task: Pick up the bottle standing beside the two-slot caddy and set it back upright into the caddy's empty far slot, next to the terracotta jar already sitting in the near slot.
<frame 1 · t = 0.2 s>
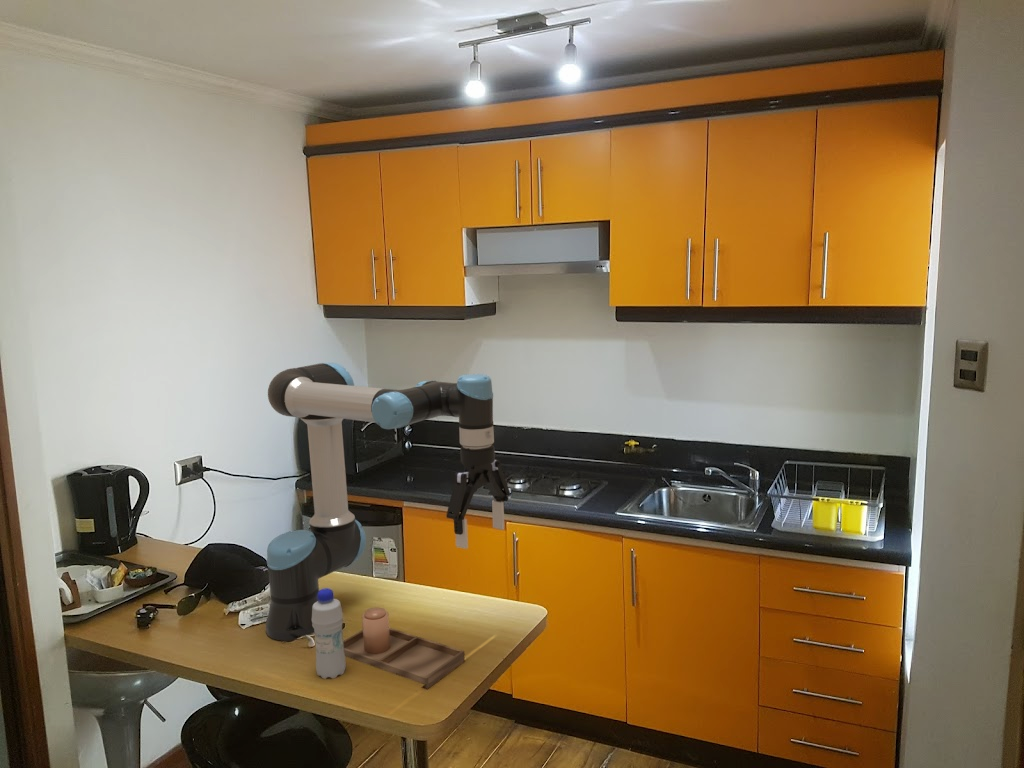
hand: (480, 537, 170), 28 cm above the counter, fingers open, 13 cm apart
bottle: (331, 676, 167), on the counter
caddy: (399, 658, 173), on the counter
jar: (377, 647, 177), point 1 cm above the counter, touching caddy
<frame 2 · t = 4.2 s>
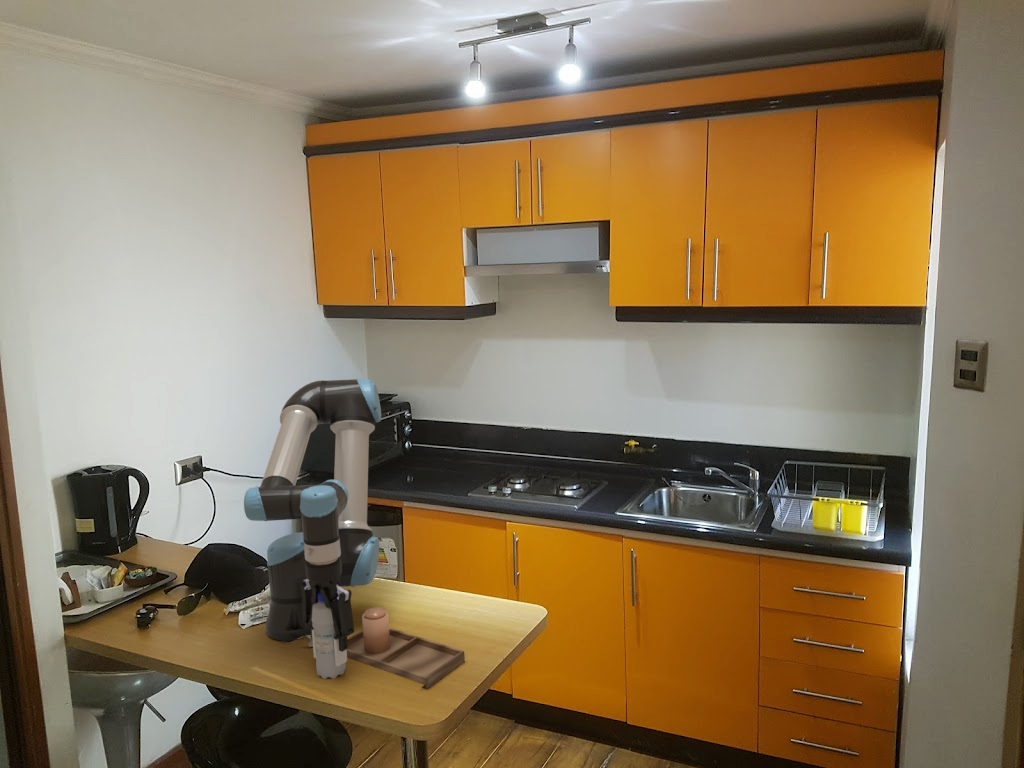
hand: (330, 659, 166), 4 cm above the counter, fingers closed on bottle, 6 cm apart
bottle: (331, 676, 167), on the counter, touching gripper
everything else where it was.
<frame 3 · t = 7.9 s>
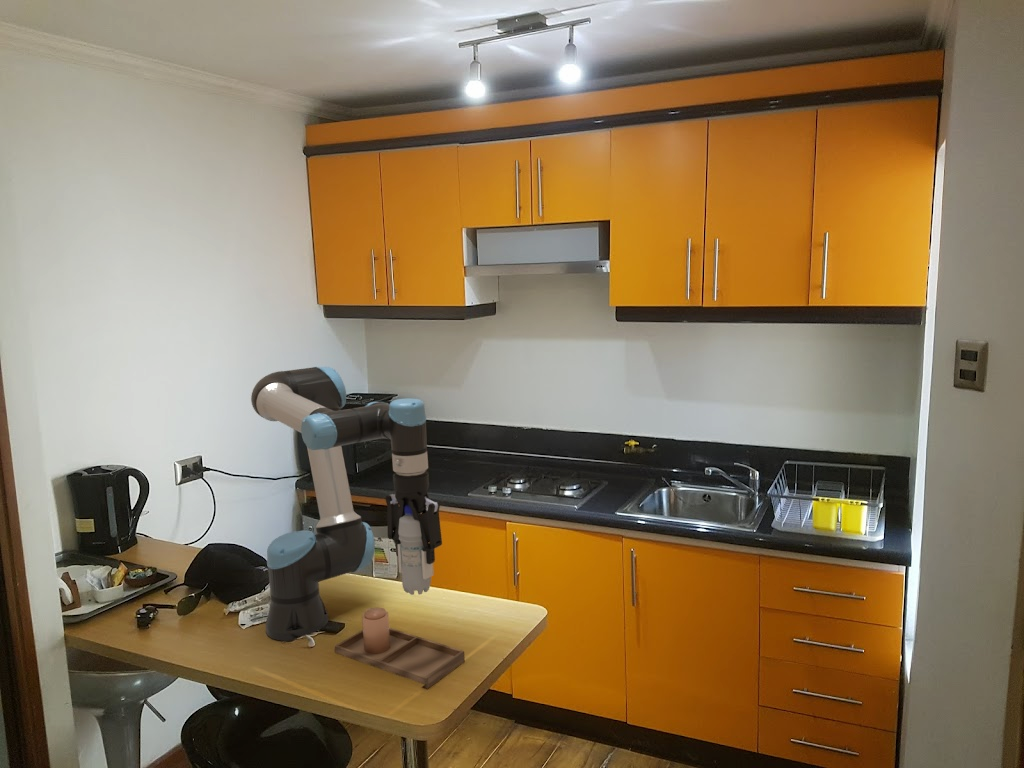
hand: (416, 573, 166), 22 cm above the counter, fingers closed on bottle, 6 cm apart
bottle: (417, 591, 167), point 18 cm above the counter, touching gripper
everything else where it was.
when the fingers open (6 cm above the counter, at t = 11.7 s): bottle stays where it is, resting on caddy.
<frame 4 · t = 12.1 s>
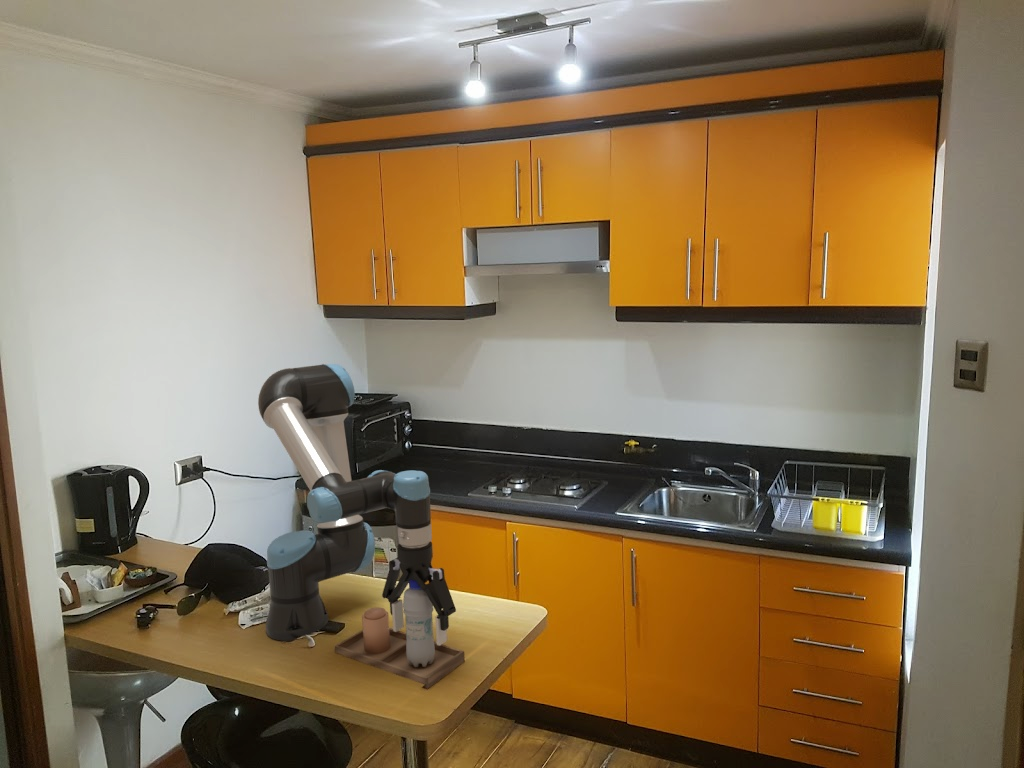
hand: (419, 635, 168), 7 cm above the counter, fingers open, 12 cm apart
bottle: (421, 663, 169), point 1 cm above the counter, touching caddy
everything else where it was.
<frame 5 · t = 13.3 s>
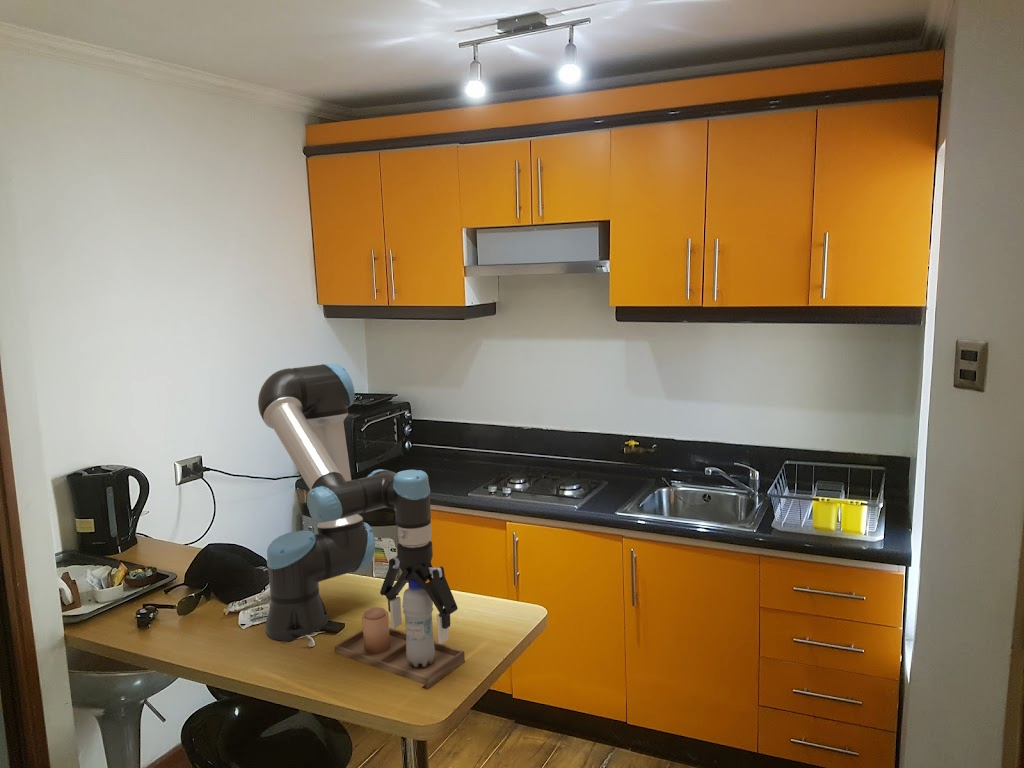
hand: (419, 633, 168), 8 cm above the counter, fingers open, 13 cm apart
nothing on the counter moved.
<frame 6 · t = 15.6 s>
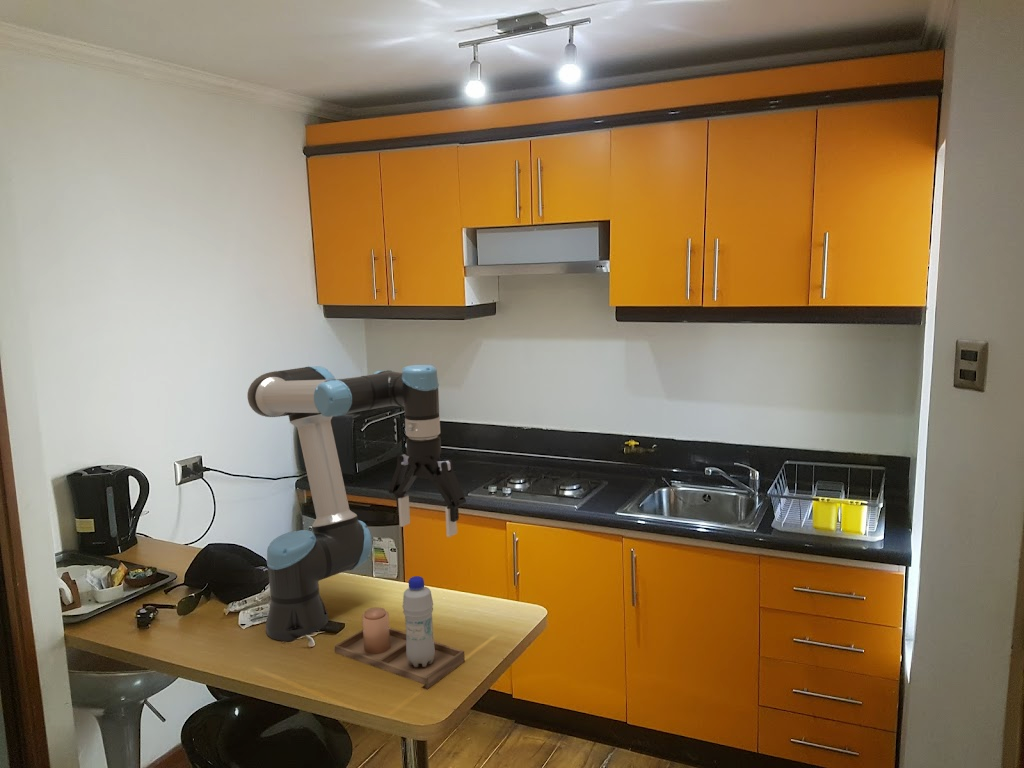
hand: (427, 529, 169), 30 cm above the counter, fingers open, 13 cm apart
nothing on the counter moved.
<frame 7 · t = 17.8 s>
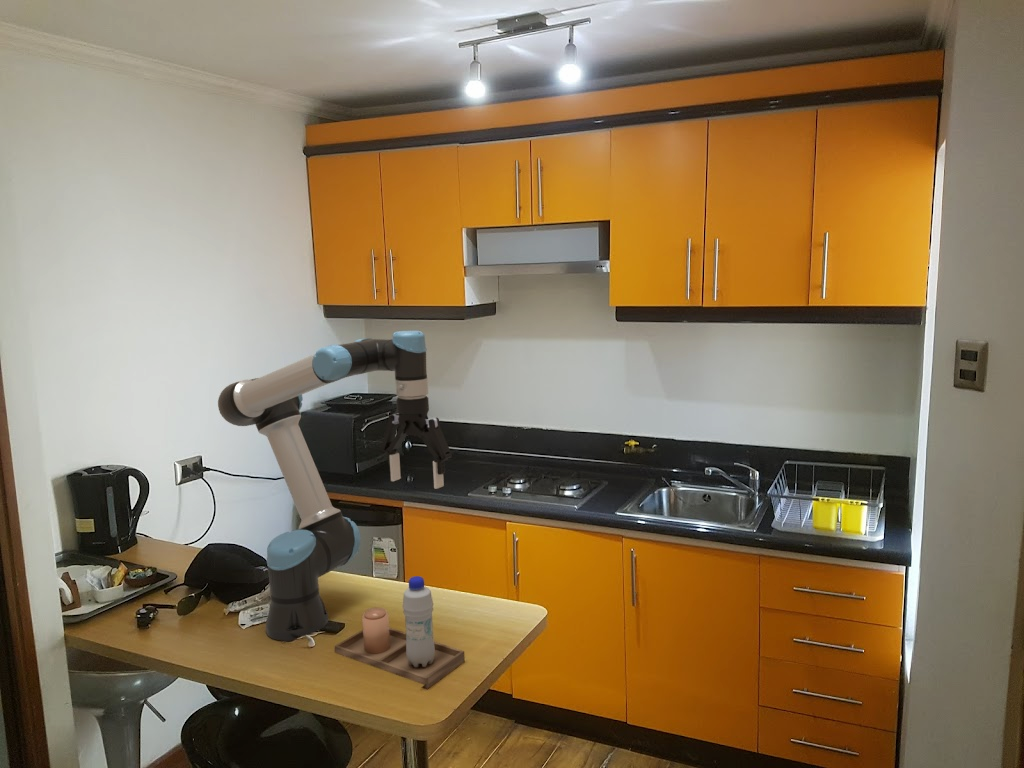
hand: (417, 483, 183), 37 cm above the counter, fingers open, 13 cm apart
nothing on the counter moved.
at the end: bottle inside the target area on the caddy (0.0 cm from its centre), point 0.8 cm above the caddy's base; bottle tilted 0°; jar moved 0.1 cm from its start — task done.
